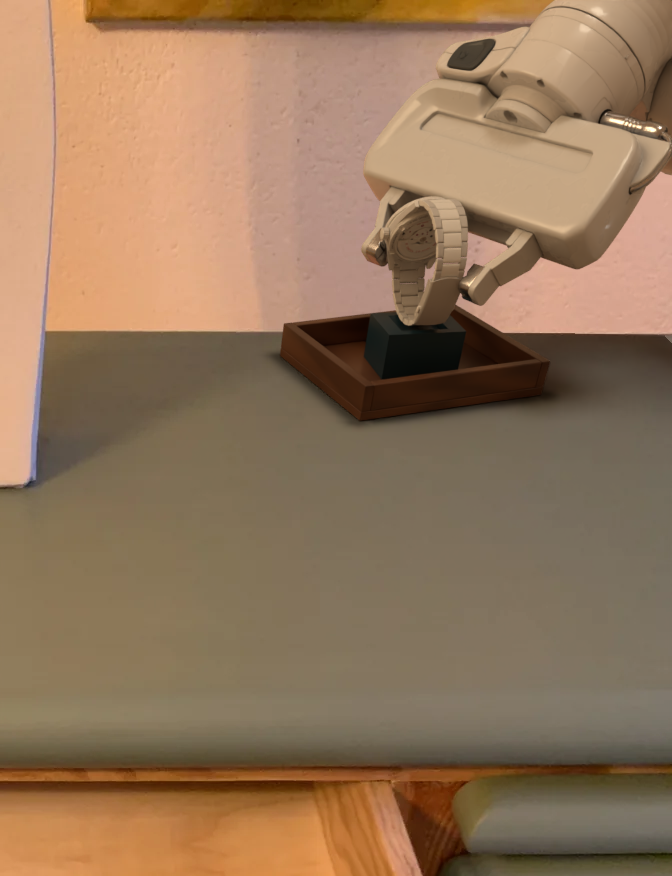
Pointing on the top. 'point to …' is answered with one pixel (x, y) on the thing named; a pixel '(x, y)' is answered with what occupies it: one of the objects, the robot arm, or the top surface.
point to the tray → (368, 396)
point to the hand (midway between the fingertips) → (417, 277)
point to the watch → (421, 291)
